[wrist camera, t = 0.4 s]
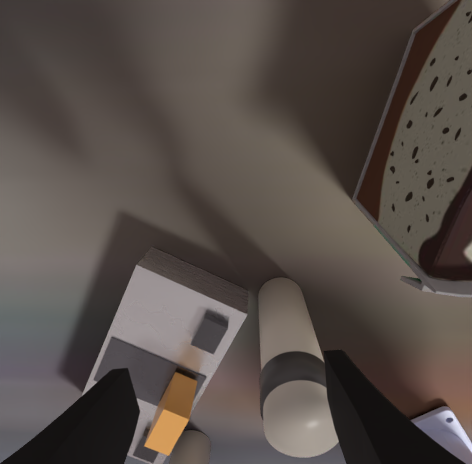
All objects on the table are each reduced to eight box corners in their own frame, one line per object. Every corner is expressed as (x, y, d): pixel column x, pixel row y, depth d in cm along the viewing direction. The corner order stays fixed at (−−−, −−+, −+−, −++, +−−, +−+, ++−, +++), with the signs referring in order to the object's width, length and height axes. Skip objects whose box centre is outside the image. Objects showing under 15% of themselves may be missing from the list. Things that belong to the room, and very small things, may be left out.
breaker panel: (247, 290, 22) (247, 320, 18) (170, 430, 26) (157, 476, 22) (152, 246, 21) (132, 269, 18) (87, 397, 25) (61, 439, 22)
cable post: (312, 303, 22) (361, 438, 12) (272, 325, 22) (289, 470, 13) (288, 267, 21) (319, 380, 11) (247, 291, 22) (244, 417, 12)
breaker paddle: (197, 381, 20) (189, 419, 17) (179, 414, 21) (168, 455, 18) (175, 371, 20) (163, 409, 17) (157, 405, 21) (144, 446, 18)
